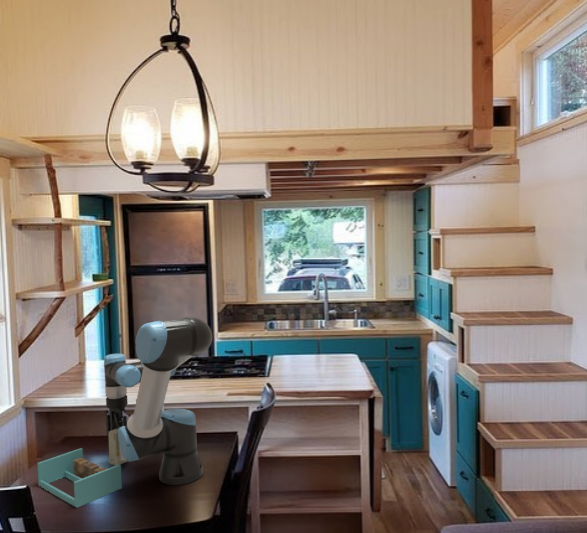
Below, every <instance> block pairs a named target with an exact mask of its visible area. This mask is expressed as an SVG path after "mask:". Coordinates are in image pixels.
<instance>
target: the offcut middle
mask: <svg viewBox="0 0 587 533" xmlns="http://www.w3.org/2000/svg"><path fill="white" fill-rule="evenodd" d="M83 468H84V478H85V477H88V476H91V475H93V474H94V470H96V469H98V468H100V465H99V464H97V463H94V462H92V461H90V462H89V463H88V464H85V465H83Z"/></svg>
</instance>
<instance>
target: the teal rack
mask: <svg viewBox="0 0 587 533" xmlns="http://www.w3.org/2000/svg"><path fill="white" fill-rule="evenodd" d="M79 458H83V459H84V451H83V448H82V447H81V448H77V449H75V450H71V451H69V452H65V453H62V454H59V455H57V456H54V457H50V458H48V459H45V460H42V461H40V462H39V461H38V462H37V483H38V487H40V486H41V487H40V488H41V489H43V488H44V490H45V491H46V492H48V491H49V493H50V494H51V495H54V496H56V497H57V498H59V499H61V500H62V501H64V502H66V503H68V504H69V505H71V506H72V507H75V508H80V507H82V506H84V505H87V504H89V503H91V502H93V500H94V501H96V500H98V499H101V498H103V497H104V496H107V495H110V494H112V493H115V492H117V491H119V490H122V488H123V484H122V483H123V482H122V466H121V465H122V464H119V465H113V466H111V467H109V468H105V469H106V470H103V471H101V472H98V473H96V474H93V475H91V476H88V477H85V478H83V479H82V478H80V477H78V476H76V475H74V465H73V460H76V459H79ZM63 477H64V478H65V477H66V478H65V479H67V478H68V480H70V481H71V482H73V491H74V493H73V494H74V497H73V496H72V495H70V494H68V493H66V492H64V491H62V490H61V489H59V488H58V487H55V486H54V485H52V484H51V483H53V482H56V481H58V479H59V480H61V479H64V478H63ZM50 482H51V483H50ZM102 496H103V497H102ZM100 497H101V498H100Z"/></svg>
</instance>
